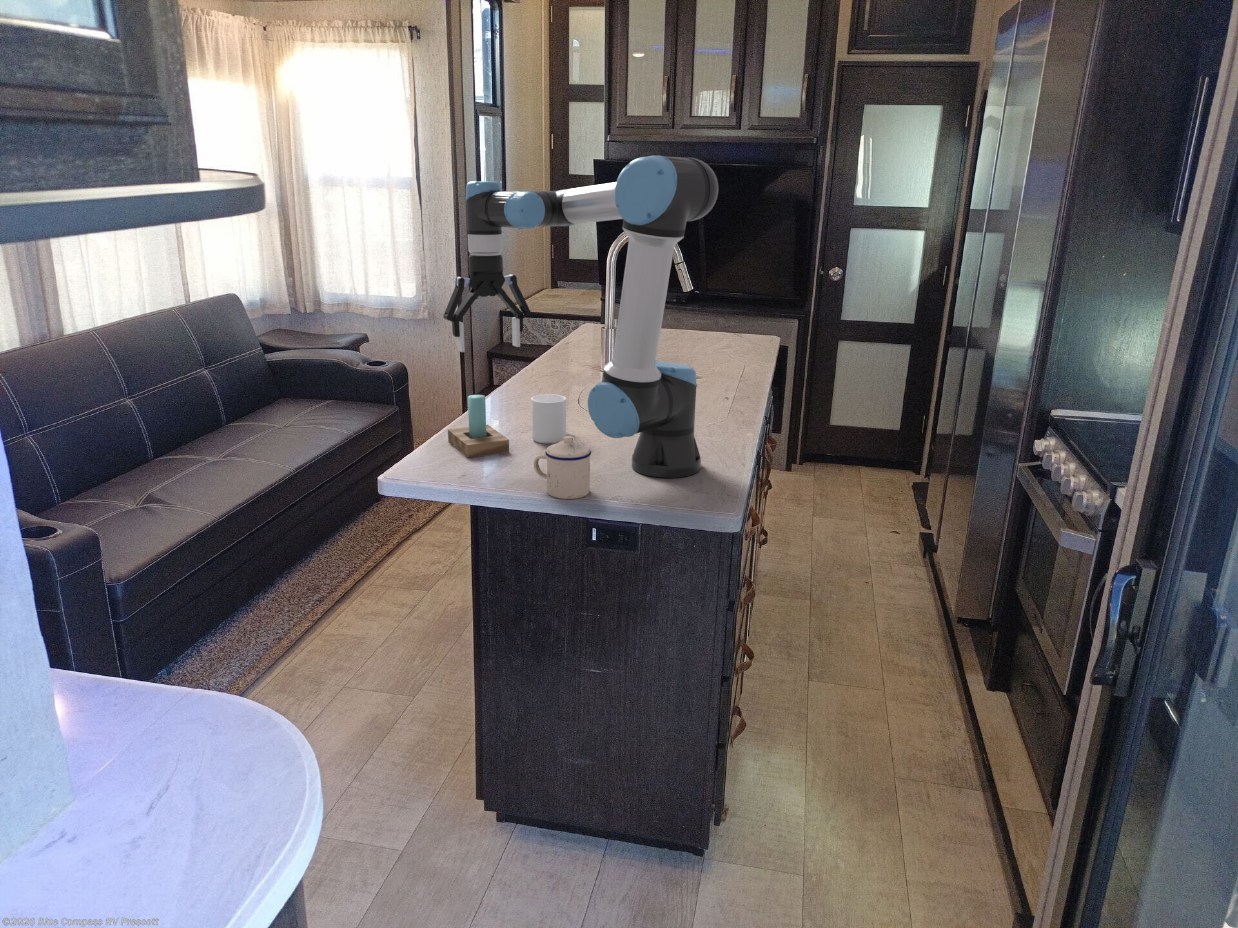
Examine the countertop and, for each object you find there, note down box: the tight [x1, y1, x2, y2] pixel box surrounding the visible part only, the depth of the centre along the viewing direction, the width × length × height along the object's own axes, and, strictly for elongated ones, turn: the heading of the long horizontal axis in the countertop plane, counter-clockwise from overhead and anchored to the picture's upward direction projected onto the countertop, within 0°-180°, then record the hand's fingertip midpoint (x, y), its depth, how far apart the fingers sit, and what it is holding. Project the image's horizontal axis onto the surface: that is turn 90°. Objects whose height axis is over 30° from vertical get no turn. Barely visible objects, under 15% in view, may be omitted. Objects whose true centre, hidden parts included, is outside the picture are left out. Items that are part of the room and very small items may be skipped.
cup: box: [530, 393, 567, 445], centre depth 212 cm, size 8×12×10 cm
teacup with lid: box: [533, 435, 592, 500], centre depth 175 cm, size 12×9×12 cm
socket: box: [447, 424, 510, 459], centre depth 204 cm, size 14×10×3 cm
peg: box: [467, 394, 487, 439], centre depth 203 cm, size 4×4×12 cm
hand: (489, 348), depth 201 cm, fingers open, 13 cm apart
